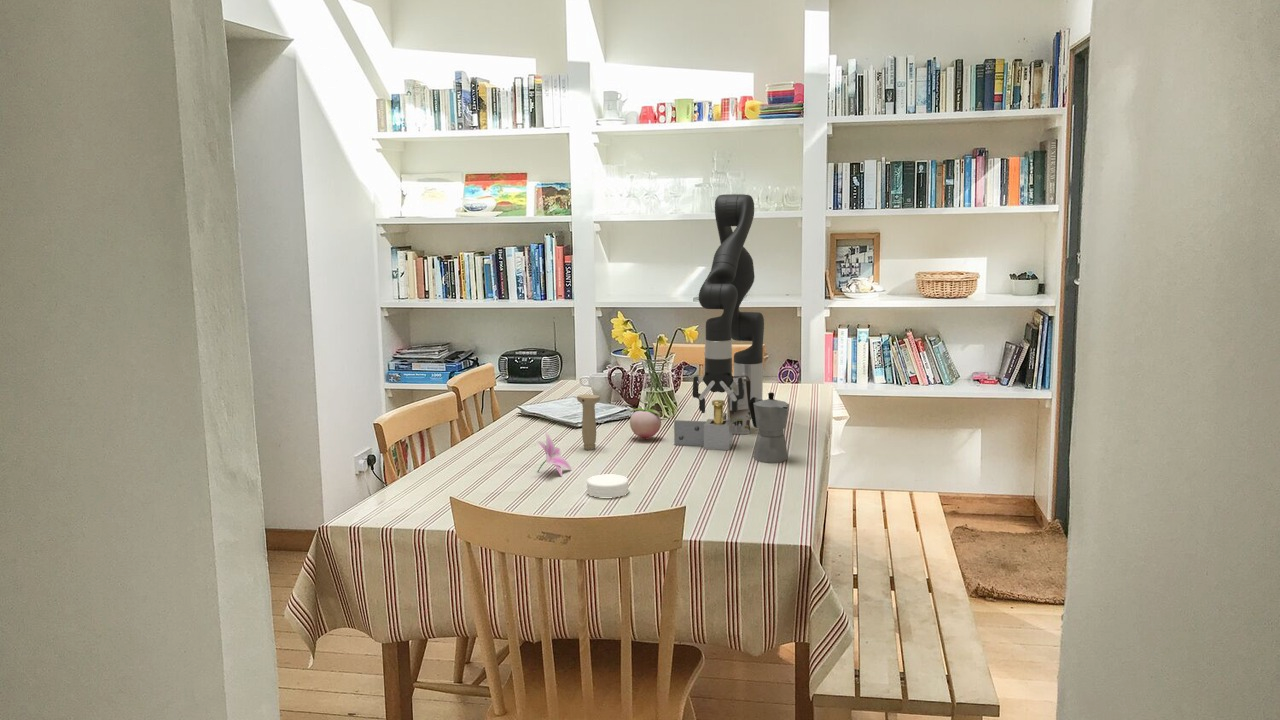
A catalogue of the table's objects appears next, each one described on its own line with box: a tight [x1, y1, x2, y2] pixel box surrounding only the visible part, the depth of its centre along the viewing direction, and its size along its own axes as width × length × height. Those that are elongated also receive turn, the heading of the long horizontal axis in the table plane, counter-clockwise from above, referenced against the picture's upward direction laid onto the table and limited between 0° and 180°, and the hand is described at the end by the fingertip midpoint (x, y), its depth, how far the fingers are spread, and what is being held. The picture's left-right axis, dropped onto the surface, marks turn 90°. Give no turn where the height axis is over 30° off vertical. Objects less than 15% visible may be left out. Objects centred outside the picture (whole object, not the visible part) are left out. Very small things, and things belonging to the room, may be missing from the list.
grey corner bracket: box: [673, 412, 734, 451], centre depth 277 cm, size 16×16×7 cm
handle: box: [576, 393, 601, 451], centre depth 270 cm, size 5×6×15 cm
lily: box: [536, 431, 573, 477], centre depth 247 cm, size 12×12×10 cm
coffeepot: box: [749, 392, 790, 464], centre depth 258 cm, size 15×9×18 cm, turn 34°
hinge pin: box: [711, 399, 726, 424], centre depth 271 cm, size 4×4×13 cm
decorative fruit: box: [629, 405, 662, 440], centre depth 280 cm, size 9×8×10 cm
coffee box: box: [726, 375, 751, 435], centre depth 289 cm, size 9×6×16 cm
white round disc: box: [586, 473, 630, 497], centre depth 230 cm, size 10×10×4 cm
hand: (718, 413), depth 270 cm, fingers open, 8 cm apart
